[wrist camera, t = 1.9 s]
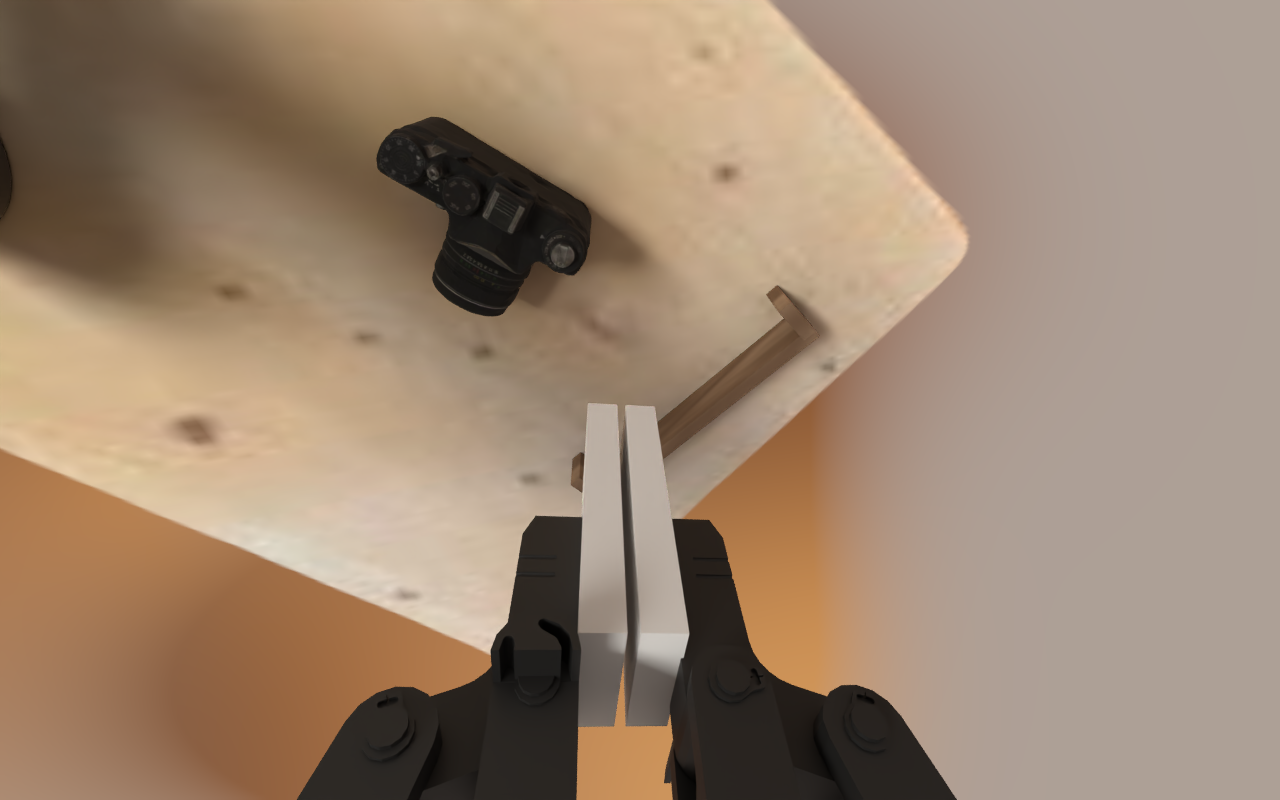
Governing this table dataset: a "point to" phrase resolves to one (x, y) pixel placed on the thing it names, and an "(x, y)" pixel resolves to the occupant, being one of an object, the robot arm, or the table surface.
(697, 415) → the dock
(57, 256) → the table surface
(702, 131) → the table surface
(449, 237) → the camera
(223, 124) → the table surface
